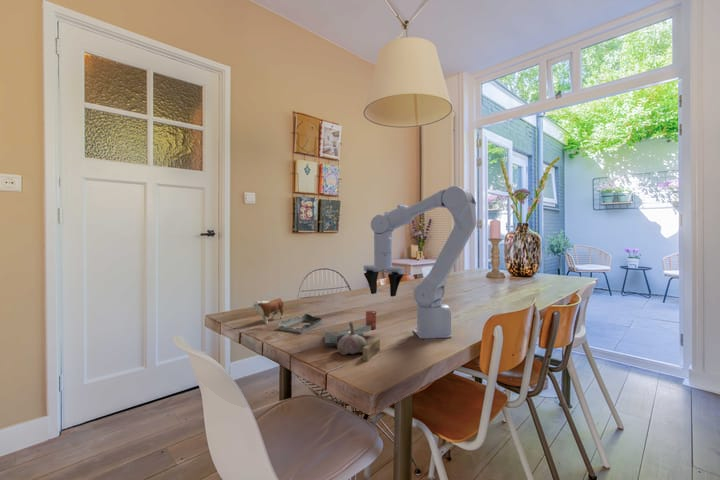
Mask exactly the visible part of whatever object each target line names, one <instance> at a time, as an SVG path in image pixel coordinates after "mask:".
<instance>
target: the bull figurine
mask: <svg viewBox="0 0 720 480" xmlns="http://www.w3.org/2000/svg"><path fill="white" fill-rule="evenodd" d="M283 308H284V300H283V299H282V298H276V299H272V300H261V301H259V300H256V301H255V302H253V304H252V307H250V309H251V310H252V311H256V312H258V313H259V314H260V315H261V316H262V318H263V321H262V323H264V325H268V324H269V321H268V320H269V318H270V315H271V319H270V320H274V319H275V317H276V315H278V314H279V313H280V318H279V320H283V318H284V309H283Z"/></svg>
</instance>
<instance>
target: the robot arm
mask: <svg viewBox="0 0 720 480" xmlns="http://www.w3.org/2000/svg"><path fill="white" fill-rule="evenodd" d="M476 206H477V202H476V199H475V198H474V196H473V194H472V192H470V191H469V190H467V189H463V188H462V187H460V186H457V185H453V186H449V187H448V188H446V189H445V188H444V189H441V190H439V191H437V192H436V193H434V194H432V195H430V196H428V197H426V198H424V199H422V200H420V201H418V202H416V203H414V204H412V205H410V206H408V205H406V204H403V205H402V204H398V205H397V206H396V208H395V209H392V210H390V211H385V212H384V214H376V215H375V216H374V217H373V218H372V219H371V221H370V228H371V230H372V231H373V234H374V235H373V241H374V242H373V243H374V244H373V247H374V248H373V255H374V256H373V257H374V260H373V261H374V264H370V265H369V264H365V265H363V272H364V273H363V276H364V278H365V279H366V281H367V283H368V286H369V290H370V294H372V295H374V294H377V288H378V277H379V273H387V277H388V280H389V289H390V290H389V293H390V294H389V295H390V297H397V291H398V288H399V284H400V283H401V280H402V279H403V277H404V274H405V267H403V266H402V267H401V266H396V265H395V266H394V265H393V232H394V231H395V230H396V229H399V228H400V227H403V226H405V225H408V224H410V223H412V222H413V221H414V217H416V216H418V215H421V214H424V213H427V212H429V211H432V210H435V209H437V208H442V209H443V208H444V209H445V208H446V209H447V210H448V211H449V213H451V216H452V219H453V221H454V223H455V225H454V226H453V228H452V230H451V232H450V234H449V236H448V237H447V239H446V241H445V243H444V245H443V246H442V248H441V251H440V252H439V255H438V256H437V258H436V260H435V262H434V264H433V266H432V267H431V269H430V271H429V272H428V274H427V275H426V276H425V277H424V278H423V279H422V281H421V283H419V284H418V285H417V286H415V288H414V289H413V297H414V300H415V302H416V309H417V310H416V315H417V316H416V320H417V321H416V323H417V324H416V327H417V328H414V329H412V331H413V332H414V334H415V335H416V336H417V337H418V338H419V339H421V340H422V339H439V338H440V339H441V338H443V339H444V338H445V339H446V338H452V337H453V336H452V312H451V308H450V306H449V305H448V304H445V303H444V304H443V303H442V299H443V297H444V295H445V288H446V286H447V284H448V281H447V279H448V278H449V276H450V274H451V272H452V270H453V269H454V266H455V264H456V263H457V261H458V259H459V257H460V255H461V253H462V252H463V250H464V248H465V247H466V245H467V242H469V239H470V238H471V236H472V234H473V232H474V230H475V228H476V225H477V214H476V212H477V210H476ZM388 273H389V274H388Z"/></svg>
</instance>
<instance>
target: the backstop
mask: <svg viewBox="0 0 720 480" xmlns="http://www.w3.org/2000/svg"><path fill="white" fill-rule="evenodd" d="M380 344H381V341H380V338H376V337H375V338H374V339H372V340H371V341H369V342H368V343H367V345H366V346H365V347H363V352H362V361H364V362H369V361H370V360H371V359H372V358H373V357H374V356H375V355H376V354H377V353H378V352H379V351H381V348H380V347H381V345H380Z"/></svg>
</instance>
